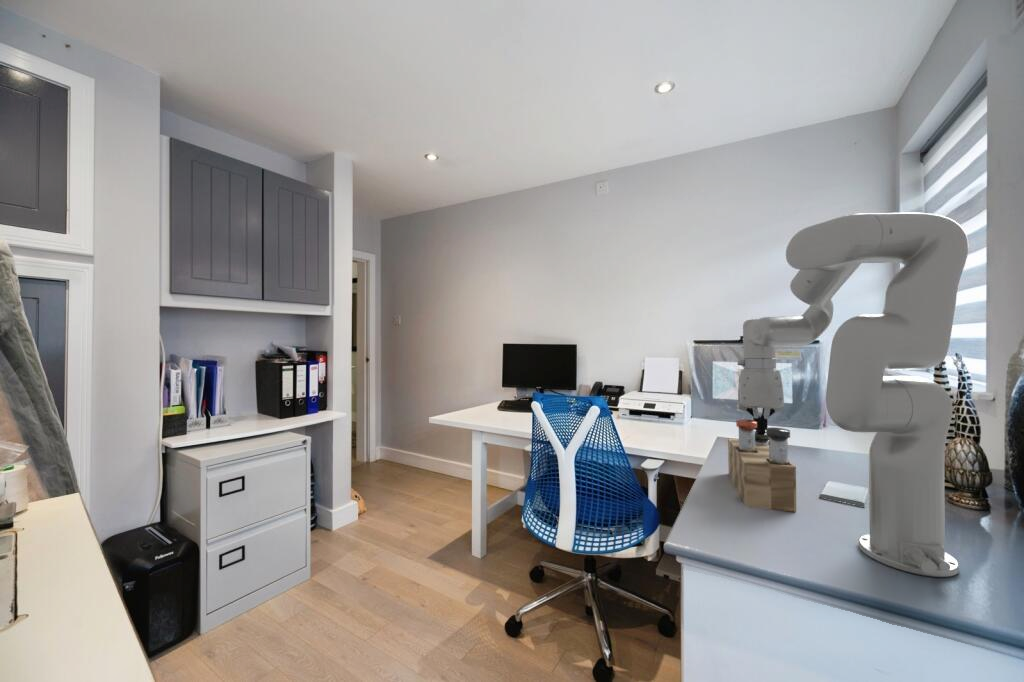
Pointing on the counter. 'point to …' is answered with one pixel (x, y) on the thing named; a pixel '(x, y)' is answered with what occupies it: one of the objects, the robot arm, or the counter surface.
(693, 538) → the counter surface
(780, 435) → the plug near
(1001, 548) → the counter surface
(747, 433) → the plug mid
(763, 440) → the plug far
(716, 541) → the counter surface
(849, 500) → the hard drive
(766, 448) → the socket block
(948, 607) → the counter surface
